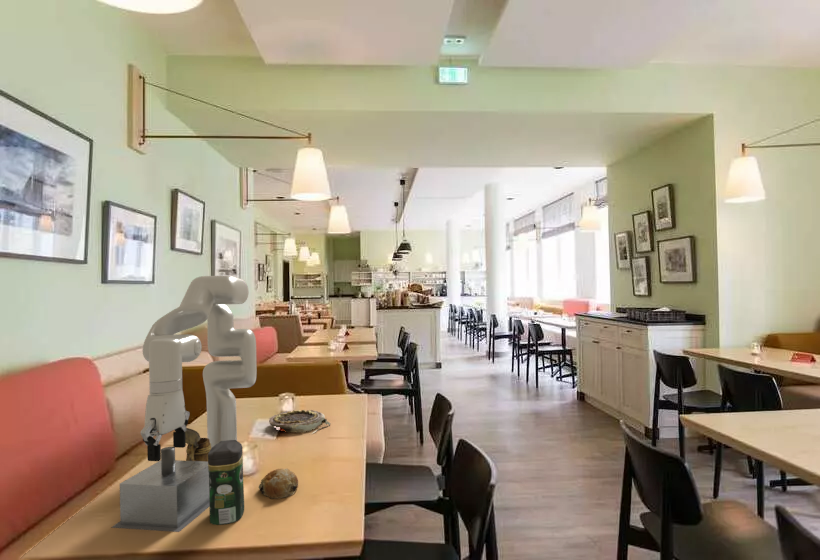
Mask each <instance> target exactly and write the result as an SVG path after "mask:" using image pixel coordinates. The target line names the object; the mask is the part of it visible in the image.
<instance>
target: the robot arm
mask: <svg viewBox="0 0 820 560" xmlns="http://www.w3.org/2000/svg"><path fill="white" fill-rule="evenodd" d="M248 298H249V286H248V284H247V282H246V281H245V280H244V279H243V278H239V277H235V276H232V275H203V276H198V277H195V278H194V279H192V280H191V281H190V284H189V285H188V287H187V290H186V292H185V294H184V296H183V298H182V300H181V302H180V305H179V306H178V307H175V308H174V309H172V310H170V311H169V312H168V313H166V314H164V315H162V317H160V318H158V319H157V320H156V321H155V322H154V323H153V324H152V326H151V327H150V329H149V330H148V333H147V335H146V337H145V339H144V342H143V345H142V356H143V358H144V360H146V361H147V362H148V365H149V366H148V371H149V373H148V374H149V375H148V376H149V377H148V379H149V381H148V382H149V384H148V385H149V387H148V388H149V390H148V391H149V394H148V395H147V399H146V404H145V415H144V426H143V428H142V429H141V430H140V436H141V437H142V441H143V442H144V444H145V446H147V447H146V451H147V455H146V456H147V461H148V462H159V461H160V460H161V449H162V448H161V444H160V441H161V439H162V436H164V435H166V434H169V433H171V432H172V431H173V434H172V437H173V439H172V440H173V443H172V444H173V445H172V447H175V448H180V449H181V448H183V449H184V448H186V447H187V446H186V444H187V443H186V440H185V431H186V430H187V428H188V427H187V426H188V423H189V418H190V414H191V413H190V411H187V410H186V406H185V405H186V404H185V396H184V391H183V363H190V362H193V361H196V359H198V358H199V357H200V355H201V353H202V347H203V346H202V342H201V339H200V338H199V337H198V336H196V335H195V334H187V333H186V334H179V333H181V332H183V331H187V330H190V329H192V328H196V327H198V326H200V325H202V324H203V323H205V322H206V323H207V325H206V326H207V350H208V353H209V355H211V356H212V357H217V358H220V357H221V358H225V357H227V358H228V357H229V358H230V357H231V358H232V357H238V358H240V359H237V360H233V359H231V360H229V359H227V360H215V361H212V362H209V363H207V364H206V365H205V366H204V368H203V370H202V378H203V385H204V389H205V390H204V391H205V398H206V428H207V431H206V432H207V433H206V434H207V437H206V438H208V439H209V440H210V443H211V449H212V447H213V446H215V445H216V444H218V443H219V442H220V441H226V440H236V441H238V429H237V428H238V427H237V422H238V421H237V399H236V396H235V395H234V393H233V392H232V390H230V389H243V388H244V389H245V388H247V389H248V388H251V387H253V386H254V385H255V383H256V381H257V374H258V373H257V372H258V371H257V367H258V365H257V338H256V335H255V333H254V331H252V330H251V329H249V328H235V327H234V314H233V312H232V310H231V309H230V307H229V306H228V305H243V304H244V303H246V302H247V300H248ZM154 437H155V438H154Z"/></svg>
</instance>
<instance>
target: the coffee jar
mask: <svg viewBox="0 0 820 560" xmlns="http://www.w3.org/2000/svg"><path fill="white" fill-rule="evenodd" d="M243 454H244V453H243V445H242V443H241V442H239V441H238V440H237V441H236V440H226V441H220V442H219V443H218V444H216V445H215V446H213V447H212V449H211V450H210V451H209V453H208V471H209V499H210V507H209V522H210V524H211V525H214V526H223V525H230V524H233V523H236V522H239V521H240V520H241V519H242V518H243V515H244V512H245V493H244V492H245V491H244V490H245V489H244V488H245V487H244V457H243Z"/></svg>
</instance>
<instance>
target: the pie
mask: <svg viewBox="0 0 820 560" xmlns="http://www.w3.org/2000/svg"><path fill="white" fill-rule="evenodd" d="M322 422H324V425H328V426H330V425H331V424H332V423H331V422H330V421H328V419H327V418H325V414H324V413H322V412H320V411H317V410H314V409H313V410H312V409H309V410H308V409H307V410H306V409H301V410H300V409H297V410H295V409H294V410H292V411H290V410H289V411H288V410H286V411H283V412H280V413H278V414H274V415H273V416H271V417H269V418H268V424H269V425H270V426H272V427H273V426H276V427H280V428H282V429H284V430H285V431H286V432H296V433H303V432H304V433H306V431H307V432H311V431H312V429H313V430H314V431H313V432H312V433H311V435H313V434H314V433H316V432H317V431H319V430H321V429H322V428H326V427H328V426H325V427H323V426H322V428H319V427H320V426H321V424H323V423H322ZM318 426H319V427H318ZM317 428H319V429H317ZM315 429H316V430H315Z"/></svg>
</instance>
